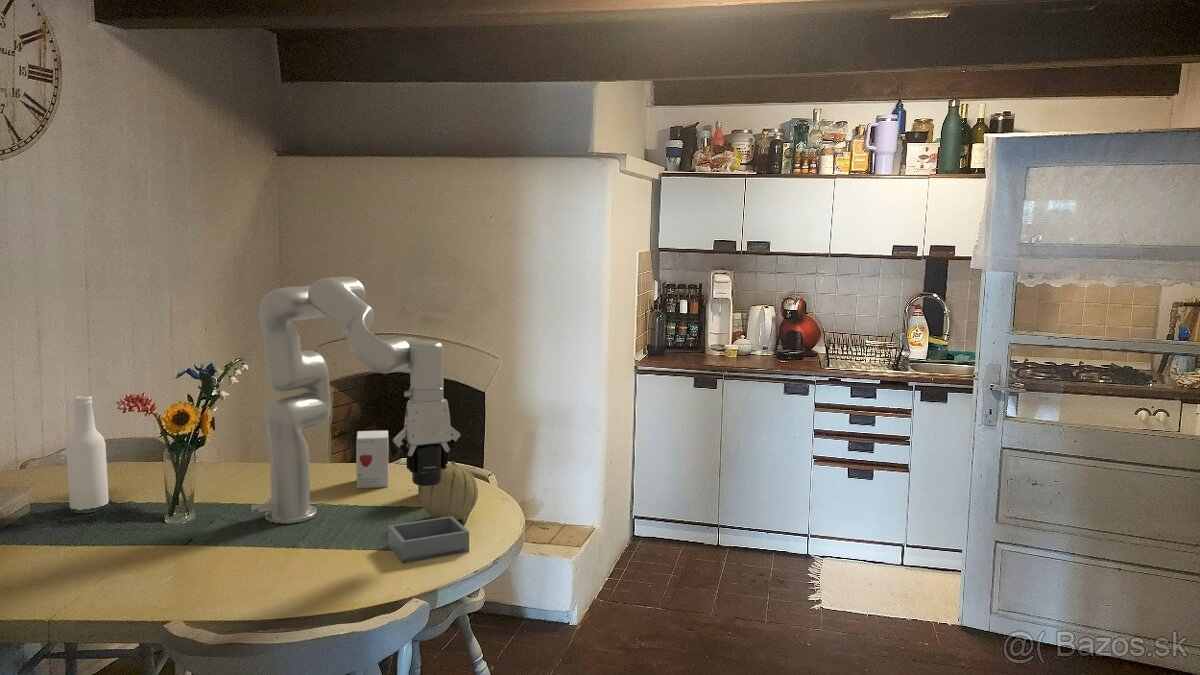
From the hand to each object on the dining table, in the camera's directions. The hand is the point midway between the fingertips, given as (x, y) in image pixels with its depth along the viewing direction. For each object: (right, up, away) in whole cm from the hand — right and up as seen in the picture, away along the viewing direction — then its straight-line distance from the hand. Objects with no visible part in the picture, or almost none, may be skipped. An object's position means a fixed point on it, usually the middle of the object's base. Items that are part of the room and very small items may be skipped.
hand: (427, 468), depth 203 cm
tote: (0, -19, +3) cm, 20 cm away
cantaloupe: (+1, -17, +23) cm, 28 cm away
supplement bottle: (0, -3, 0) cm, 3 cm away
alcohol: (-94, -14, +25) cm, 98 cm away
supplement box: (-26, -12, +52) cm, 59 cm away
